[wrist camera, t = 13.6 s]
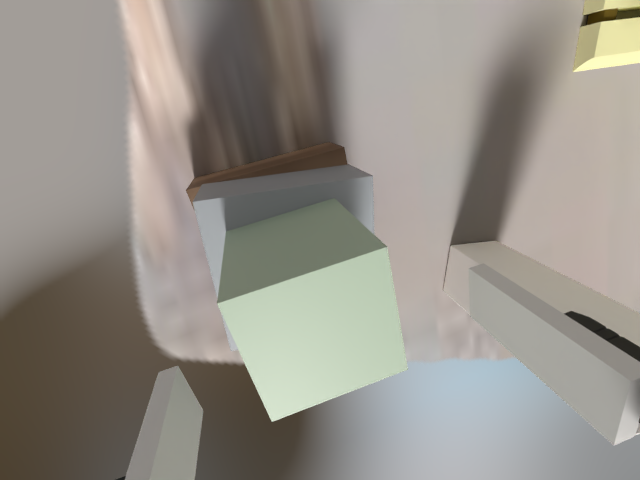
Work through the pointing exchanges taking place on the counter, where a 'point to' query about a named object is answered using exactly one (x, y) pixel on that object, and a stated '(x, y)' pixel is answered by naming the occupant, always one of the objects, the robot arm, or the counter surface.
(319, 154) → the tower base
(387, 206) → the counter surface
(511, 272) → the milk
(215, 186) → the tower top
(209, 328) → the counter surface
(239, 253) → the sage block
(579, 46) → the slatted curved stool
